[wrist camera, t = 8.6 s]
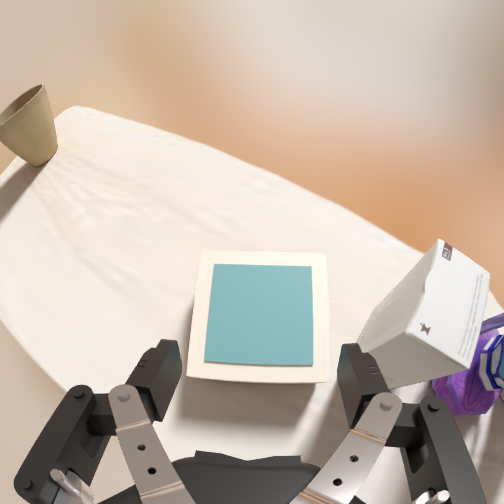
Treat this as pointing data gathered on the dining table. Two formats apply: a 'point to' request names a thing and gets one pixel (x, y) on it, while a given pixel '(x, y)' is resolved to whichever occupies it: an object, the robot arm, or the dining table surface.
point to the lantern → (477, 374)
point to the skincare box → (428, 319)
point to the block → (261, 318)
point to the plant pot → (29, 127)
